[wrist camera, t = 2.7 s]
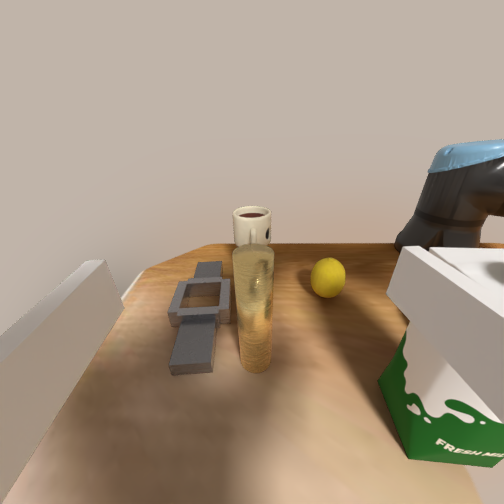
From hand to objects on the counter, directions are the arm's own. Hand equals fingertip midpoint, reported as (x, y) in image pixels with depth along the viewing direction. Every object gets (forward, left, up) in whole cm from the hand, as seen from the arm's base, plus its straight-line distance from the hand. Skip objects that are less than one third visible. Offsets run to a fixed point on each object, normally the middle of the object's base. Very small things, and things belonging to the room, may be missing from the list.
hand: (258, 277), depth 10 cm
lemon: (-13, -21, -21) cm, 32 cm away
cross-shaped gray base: (+8, -20, -20) cm, 30 cm away
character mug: (-1, -30, -21) cm, 37 cm away
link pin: (0, -10, -20) cm, 23 cm away
